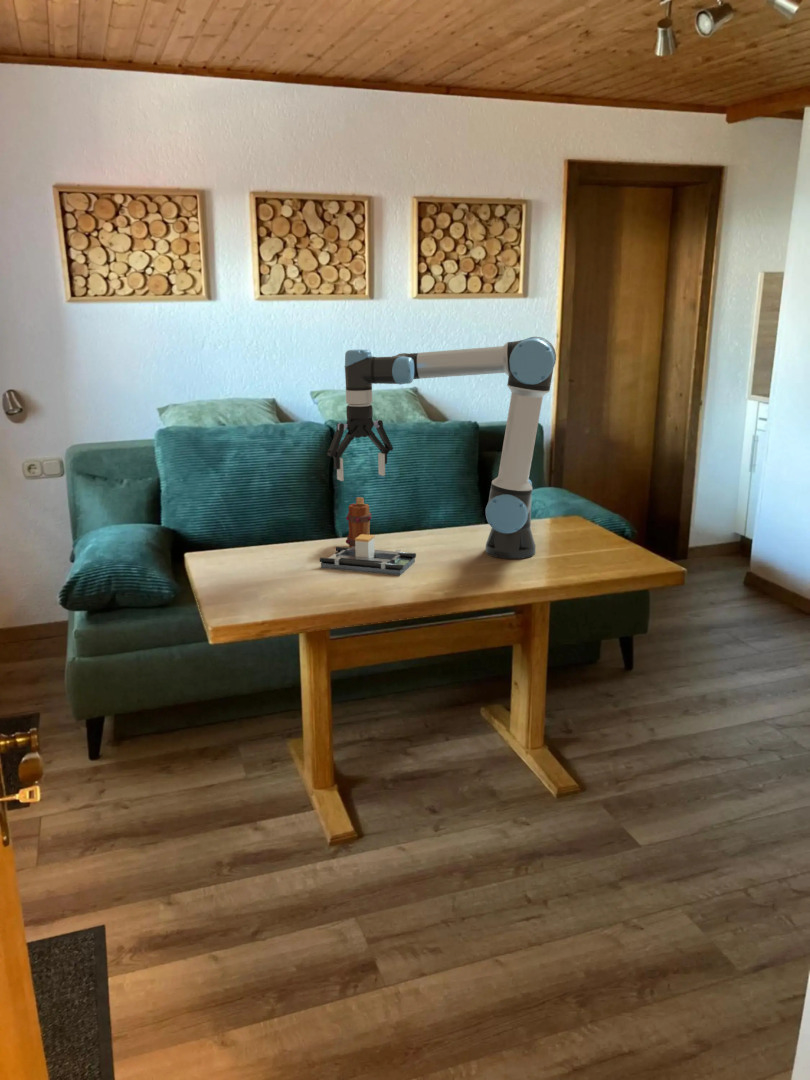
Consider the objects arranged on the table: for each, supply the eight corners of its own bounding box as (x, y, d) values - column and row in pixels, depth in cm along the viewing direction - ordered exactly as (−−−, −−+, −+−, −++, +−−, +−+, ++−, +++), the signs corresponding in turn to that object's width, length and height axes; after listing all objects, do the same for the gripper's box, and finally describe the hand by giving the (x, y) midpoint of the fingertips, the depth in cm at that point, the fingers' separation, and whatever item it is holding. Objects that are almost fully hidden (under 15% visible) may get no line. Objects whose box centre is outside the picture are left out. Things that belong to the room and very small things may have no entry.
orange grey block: (374, 556, 251) (374, 535, 249) (368, 561, 246) (368, 539, 245) (361, 555, 252) (361, 534, 251) (355, 560, 248) (354, 538, 246)
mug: (371, 553, 261) (371, 505, 257) (345, 553, 261) (343, 505, 257) (374, 541, 275) (373, 495, 271) (349, 541, 275) (348, 495, 271)
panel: (416, 561, 252) (416, 551, 252) (401, 575, 239) (401, 565, 239) (337, 554, 260) (337, 545, 259) (319, 568, 247) (318, 557, 246)
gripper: (391, 400, 254) (392, 471, 260) (314, 406, 243) (317, 480, 248) (403, 402, 248) (404, 474, 254) (325, 409, 236) (328, 484, 242)
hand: (361, 477), depth 251 cm, fingers open, 13 cm apart
